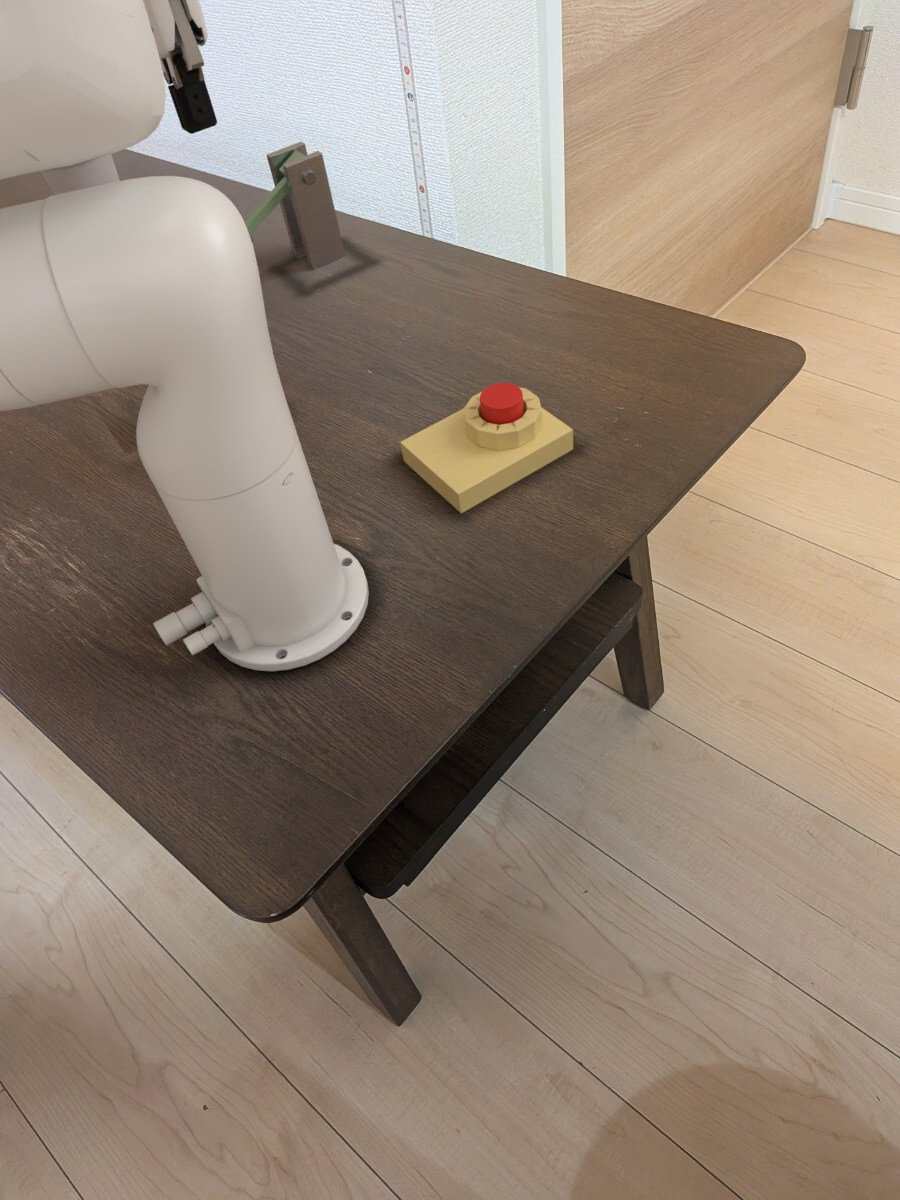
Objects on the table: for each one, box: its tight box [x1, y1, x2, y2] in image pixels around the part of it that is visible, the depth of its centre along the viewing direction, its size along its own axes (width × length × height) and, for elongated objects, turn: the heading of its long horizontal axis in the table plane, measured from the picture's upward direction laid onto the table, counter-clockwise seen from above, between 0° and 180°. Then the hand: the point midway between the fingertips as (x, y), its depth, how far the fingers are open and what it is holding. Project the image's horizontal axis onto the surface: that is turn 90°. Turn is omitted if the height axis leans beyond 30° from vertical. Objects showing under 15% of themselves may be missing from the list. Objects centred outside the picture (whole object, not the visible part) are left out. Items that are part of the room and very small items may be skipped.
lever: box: [244, 151, 305, 244], centre depth 91 cm, size 13×3×3 cm, turn 124°
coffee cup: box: [40, 154, 121, 195], centre depth 102 cm, size 10×10×15 cm
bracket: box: [266, 141, 346, 271], centre depth 94 cm, size 9×8×13 cm
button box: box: [399, 386, 574, 514], centre depth 71 cm, size 12×9×4 cm
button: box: [480, 382, 524, 425], centre depth 70 cm, size 4×4×2 cm
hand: (200, 127), depth 82 cm, fingers closed
